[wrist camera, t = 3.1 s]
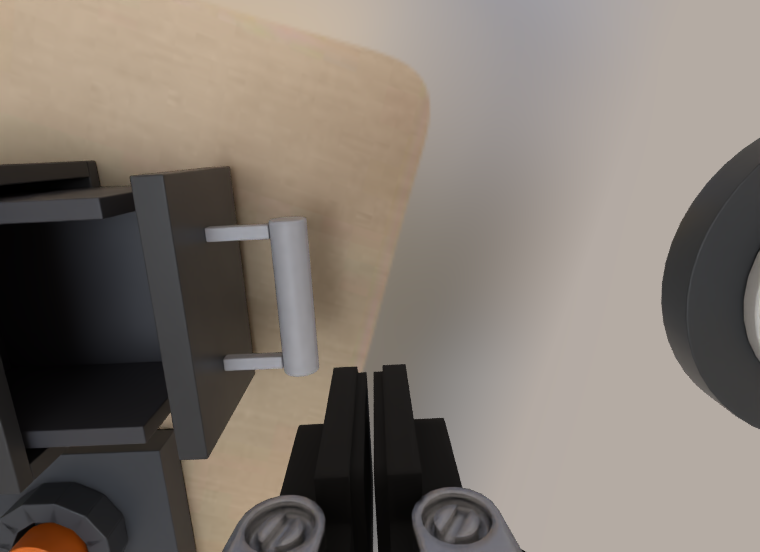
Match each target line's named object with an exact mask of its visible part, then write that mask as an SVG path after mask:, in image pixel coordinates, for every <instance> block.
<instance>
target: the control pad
mask: <svg viewBox="0 0 760 552" xmlns="http://www.w3.org/2000/svg"><path fill="white" fill-rule="evenodd" d="M42 523H56V524H59V525H61V526H64V527H66V528H69V529H71V530H73V531H74V532H75V533H76V534H77V535H78V536H79V537H80V538H81V539H82V540H83V541H84V542H85V544H86V547H87V551H88V552H196V548H195V542H194V537H193V531H192V525H191V519H190V514H189V508H188V502H187V496H186V491H185V485H184V479H183V473H182V468H181V462H180V460H179V456H178V451H177V445H176V439H175V433H174V429H171V430H156V431H155V433H154V434H153V435H152V436H151V438H150V439H149V440H148V441H147V443H144V444H120V445H96V446H72V447H69V448H68V449H67V450H65V451H64V452H63V453H62V454H61V455H60V456H59V457H58V458H57V459H56V460H55V461H54V462H53V463H52V464H51V465H50V466H49V467H48V468H47V469H46V470H45V471H44V472H43V473H41V474H40V475H39V476H38V477H37V478H36V479H35V480H33V482H32V483H31V484H30V485H29V486H28V487H27V488H26V489H25V490H24V491H23V492H22V493H20V494H3V495H0V552H9V551H10V550H11V549H12V547H13V546H14V545H15V544H16V543H17V542H18V541H19V540H20V539H21V538H22V537H23V536H24V534H25V533H26V532H27V531H28V530H29V529H31V528H32V527H34V526H36V525H39V524H42Z"/></svg>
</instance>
